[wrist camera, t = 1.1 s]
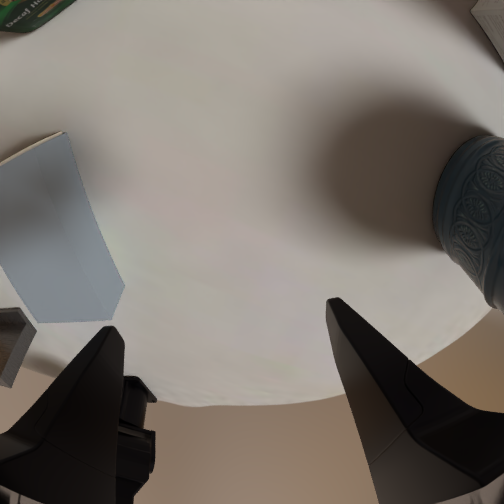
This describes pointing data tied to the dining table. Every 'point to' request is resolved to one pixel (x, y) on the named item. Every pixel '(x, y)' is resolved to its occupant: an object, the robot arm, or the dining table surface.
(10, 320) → the bookend
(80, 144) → the dining table surface
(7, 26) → the coffee jar
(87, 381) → the robot arm
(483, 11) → the skincare box
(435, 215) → the canister
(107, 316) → the boxed book
